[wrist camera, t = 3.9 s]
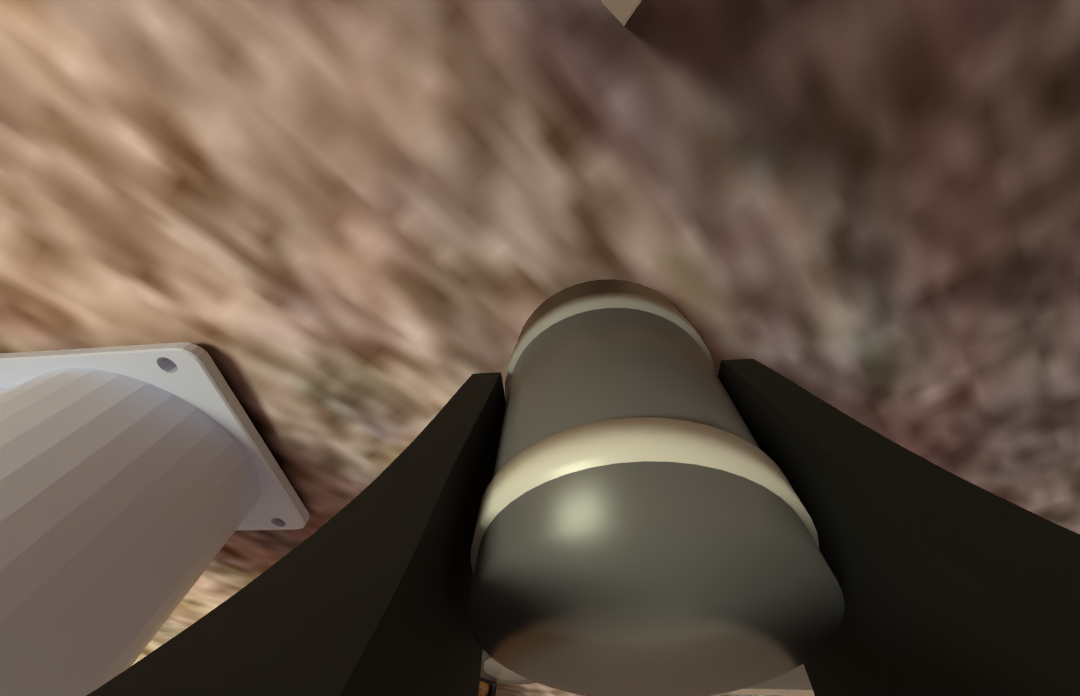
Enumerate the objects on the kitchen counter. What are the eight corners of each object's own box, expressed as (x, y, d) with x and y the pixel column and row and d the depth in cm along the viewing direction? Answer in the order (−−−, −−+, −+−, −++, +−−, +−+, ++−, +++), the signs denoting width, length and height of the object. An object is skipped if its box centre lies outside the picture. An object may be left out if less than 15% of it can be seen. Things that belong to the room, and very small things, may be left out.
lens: (523, 431, 11) (491, 698, 6) (499, 283, 9) (415, 516, 4) (686, 426, 11) (797, 706, 6) (708, 268, 9) (928, 507, 3)
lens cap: (475, 666, 23) (472, 687, 22) (457, 624, 20) (453, 647, 19) (561, 667, 22) (561, 689, 21) (555, 624, 20) (554, 648, 19)
